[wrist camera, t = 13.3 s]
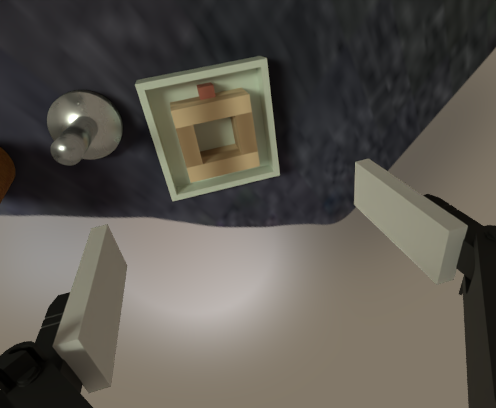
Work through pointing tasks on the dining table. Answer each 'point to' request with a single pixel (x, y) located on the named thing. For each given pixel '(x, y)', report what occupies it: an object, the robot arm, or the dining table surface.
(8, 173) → the disposable coffee cup
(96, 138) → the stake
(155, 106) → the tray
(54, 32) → the dining table surface
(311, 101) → the dining table surface
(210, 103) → the wooden square frame
